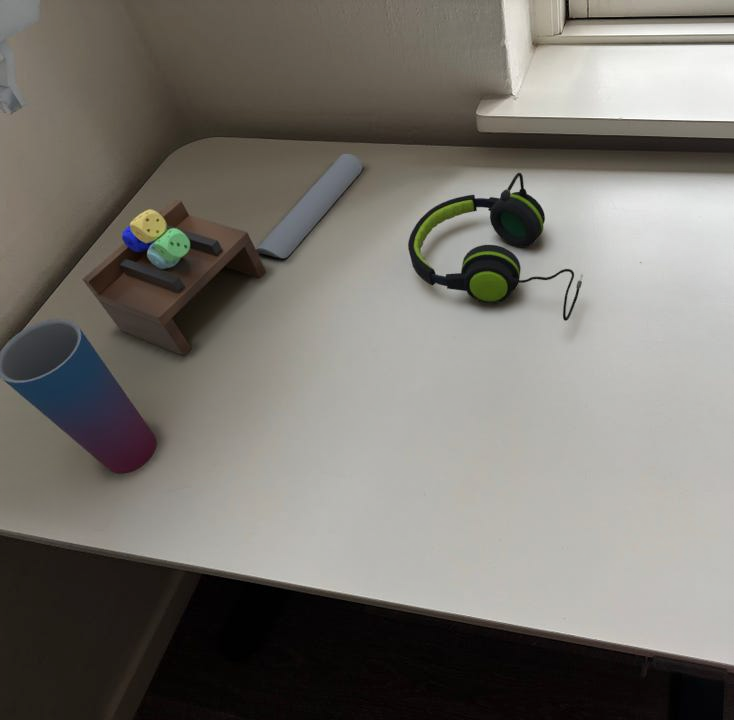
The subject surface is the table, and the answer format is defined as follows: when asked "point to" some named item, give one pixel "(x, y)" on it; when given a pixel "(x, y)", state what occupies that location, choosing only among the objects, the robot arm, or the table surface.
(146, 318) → the laptop stand
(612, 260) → the table surface
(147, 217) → the dice
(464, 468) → the table surface
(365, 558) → the table surface
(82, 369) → the cup
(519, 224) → the headphones
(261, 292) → the table surface
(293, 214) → the half round rod
